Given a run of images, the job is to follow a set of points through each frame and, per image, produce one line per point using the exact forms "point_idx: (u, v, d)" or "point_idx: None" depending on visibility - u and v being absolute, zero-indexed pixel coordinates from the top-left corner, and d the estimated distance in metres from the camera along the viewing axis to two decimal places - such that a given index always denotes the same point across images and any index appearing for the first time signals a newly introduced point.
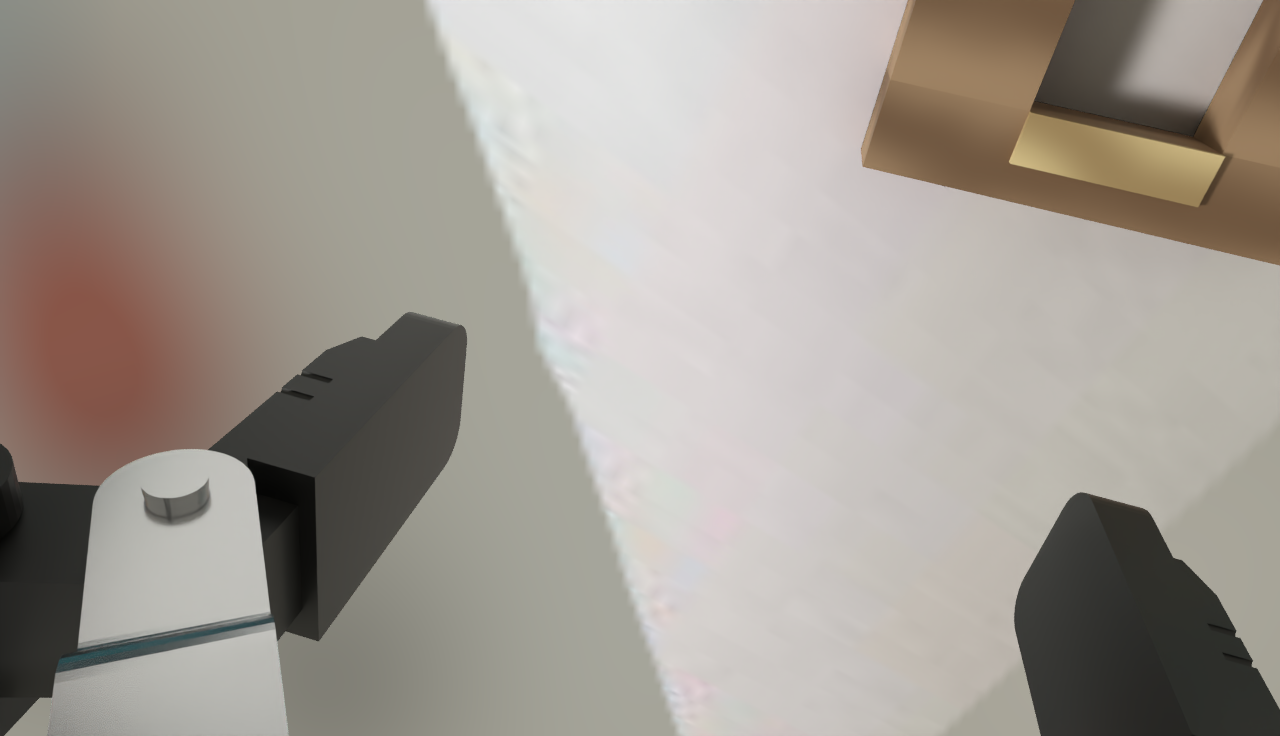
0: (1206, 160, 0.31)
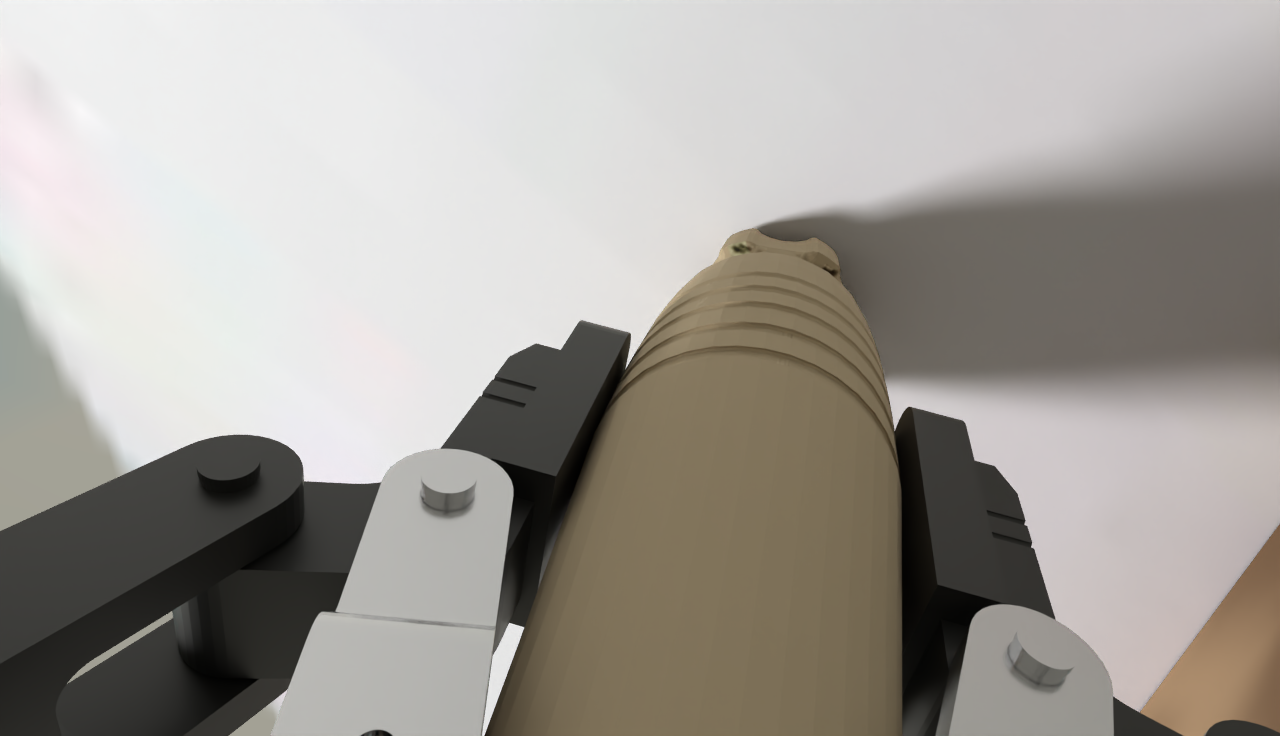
0: None
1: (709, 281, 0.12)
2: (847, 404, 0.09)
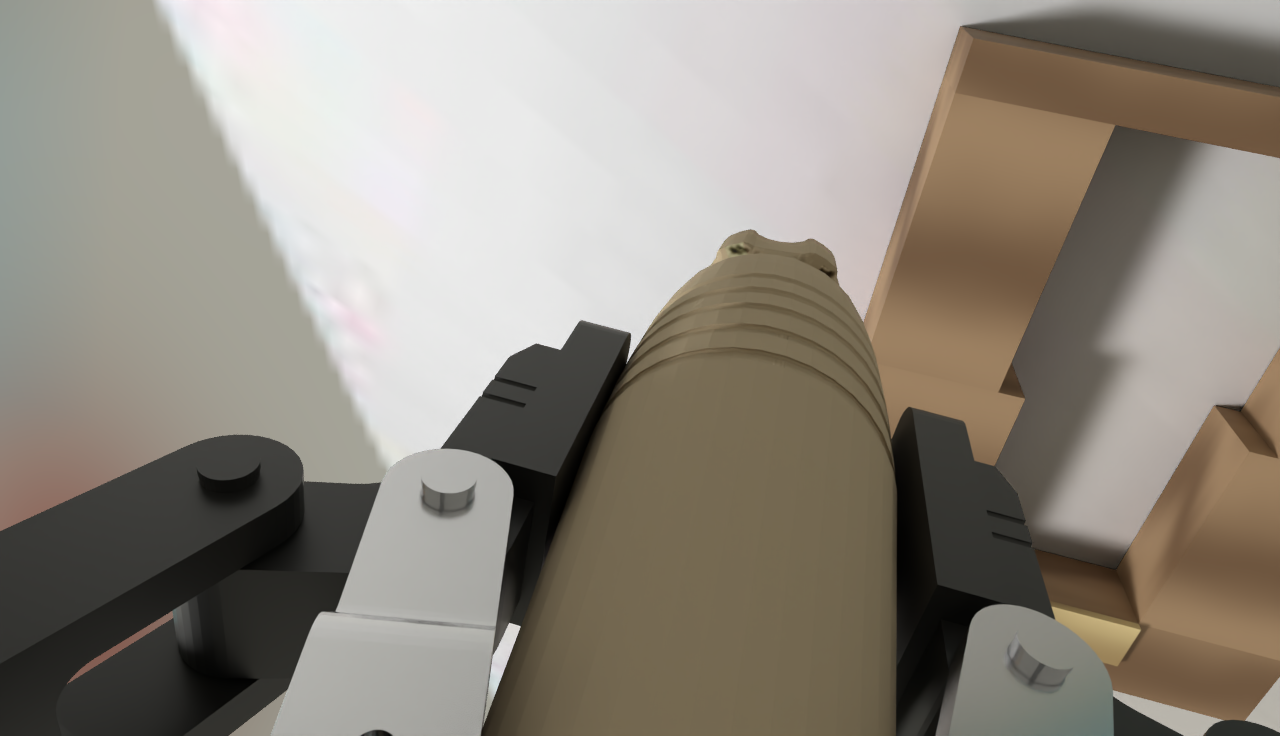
0: (1123, 631, 0.31)
1: (706, 282, 0.12)
2: (842, 406, 0.09)
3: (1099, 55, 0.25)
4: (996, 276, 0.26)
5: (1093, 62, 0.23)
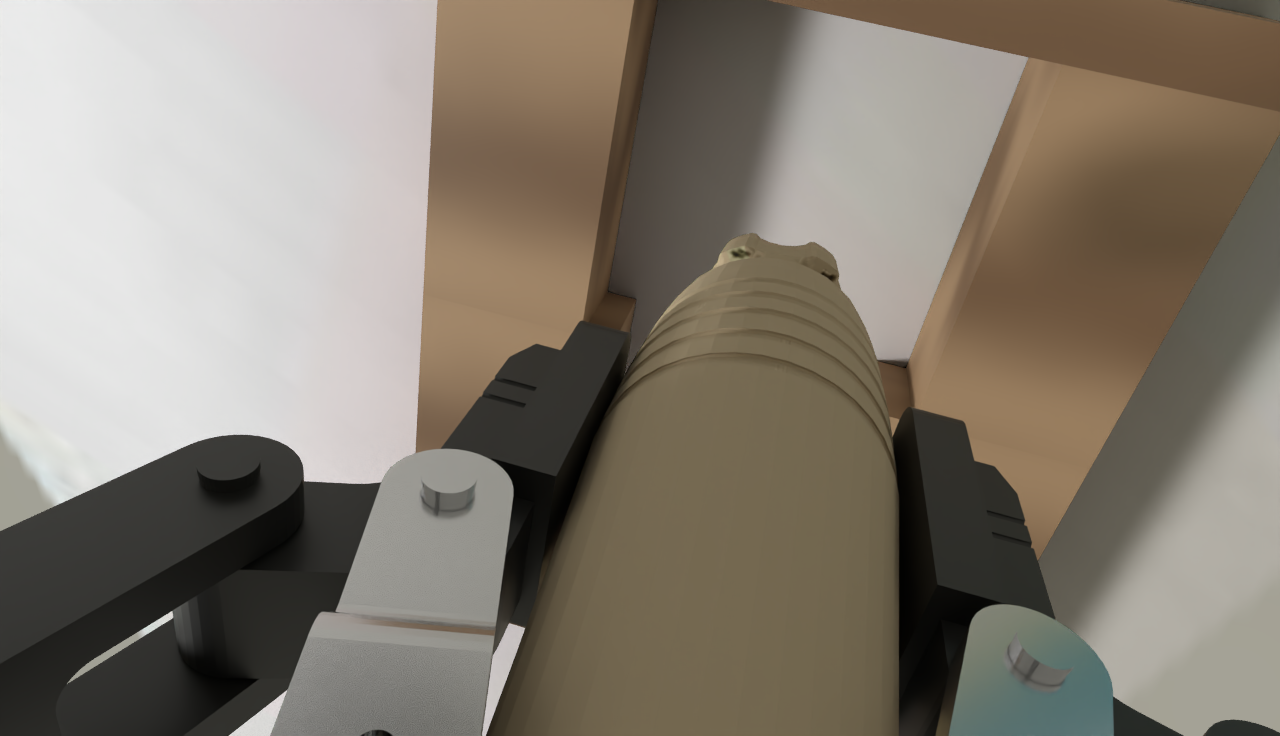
0: None
1: (708, 286, 0.12)
2: (844, 411, 0.09)
3: None
4: (544, 182, 0.21)
5: None
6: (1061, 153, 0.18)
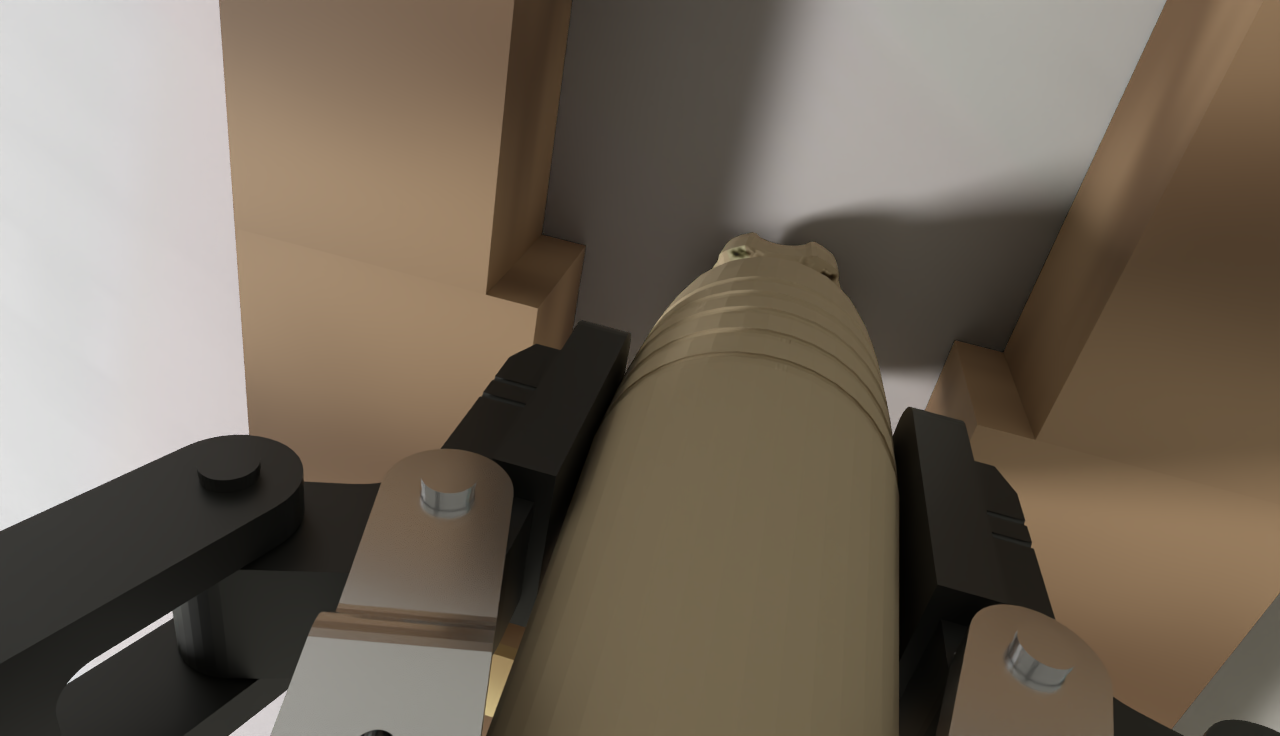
0: None
1: (708, 286, 0.12)
2: (844, 409, 0.09)
3: None
4: (410, 23, 0.12)
5: None
6: None
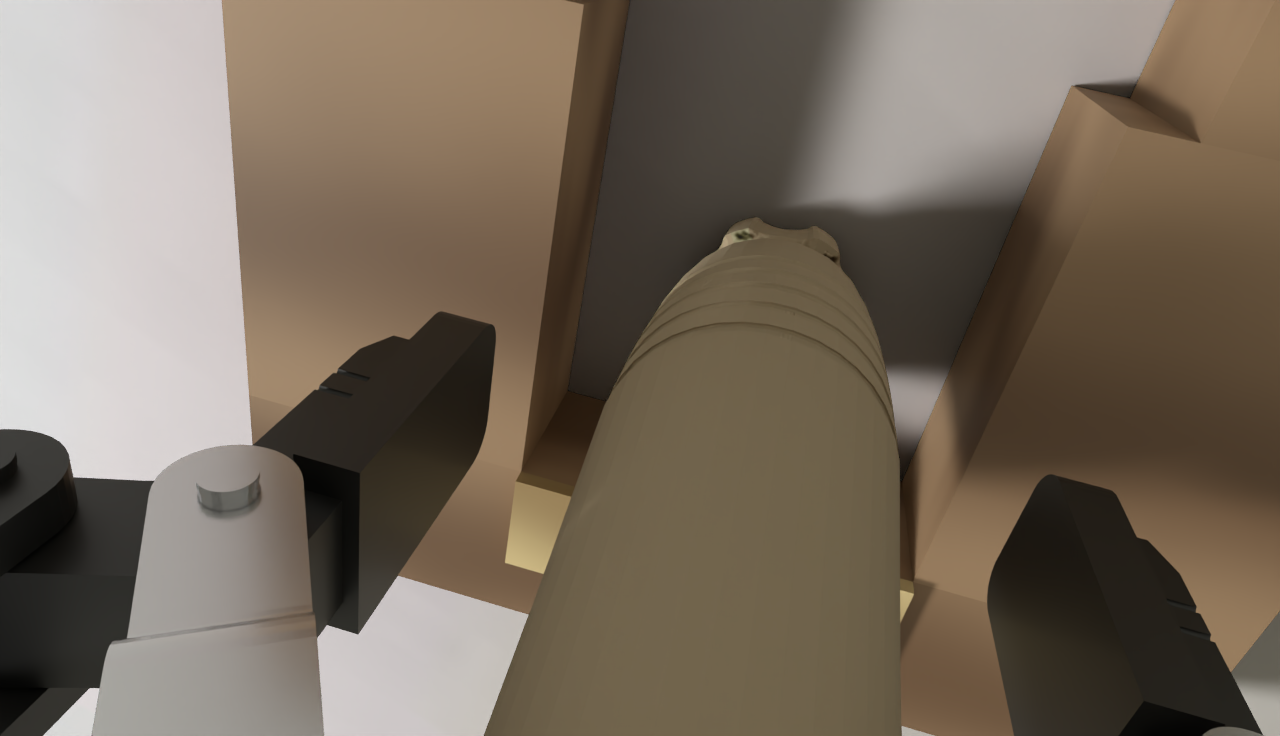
0: None
1: (713, 265, 0.12)
2: (847, 377, 0.10)
3: None
4: None
5: None
6: None
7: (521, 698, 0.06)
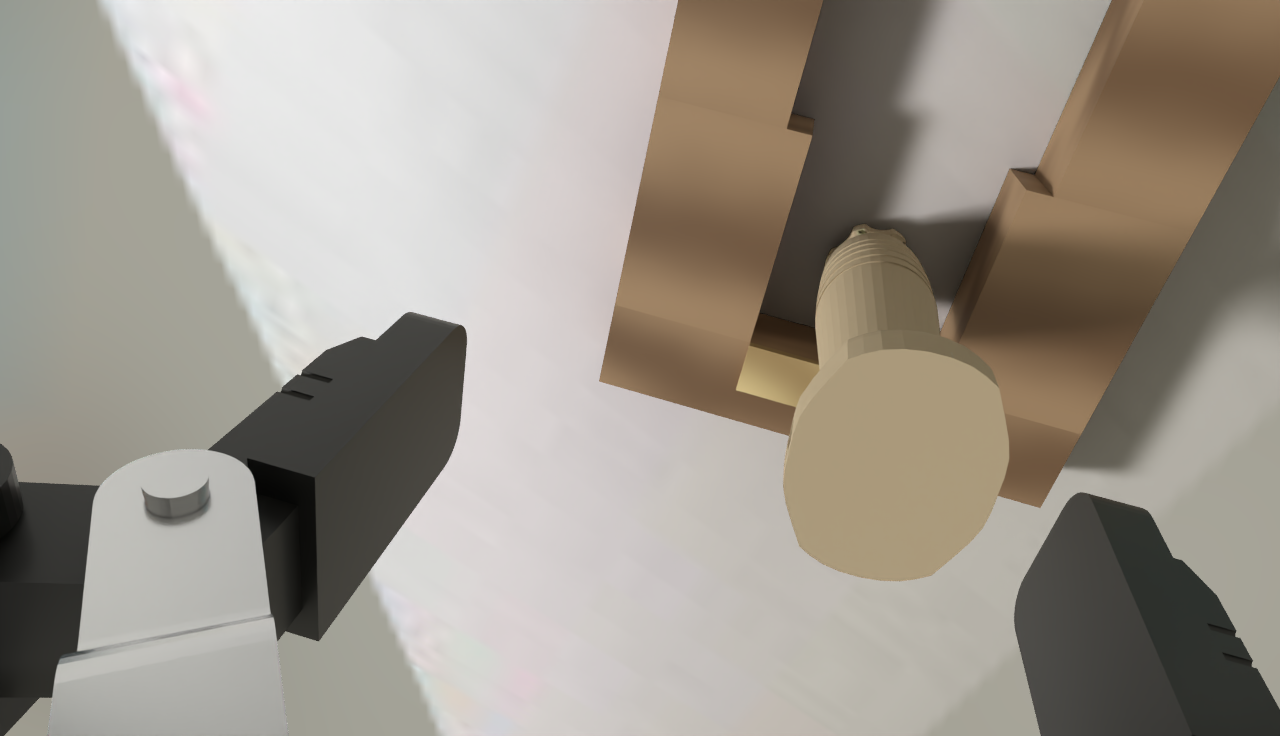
0: None
1: (856, 243, 0.29)
2: (920, 280, 0.26)
3: None
4: None
5: None
6: None
7: None
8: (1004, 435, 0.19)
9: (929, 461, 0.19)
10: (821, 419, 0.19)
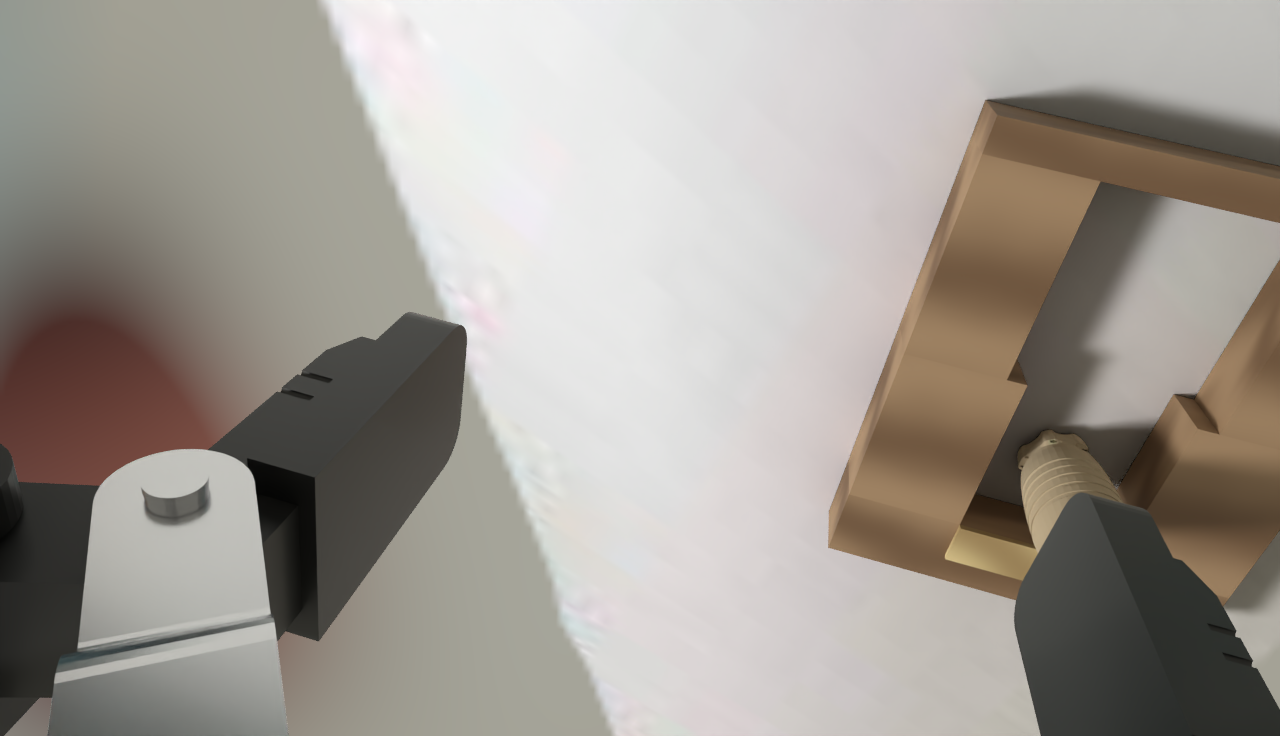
0: None
1: (1056, 460, 0.37)
2: None
3: (1090, 127, 0.33)
4: (1008, 290, 0.34)
5: (1085, 135, 0.31)
6: None
7: None
8: None
9: None
10: None
